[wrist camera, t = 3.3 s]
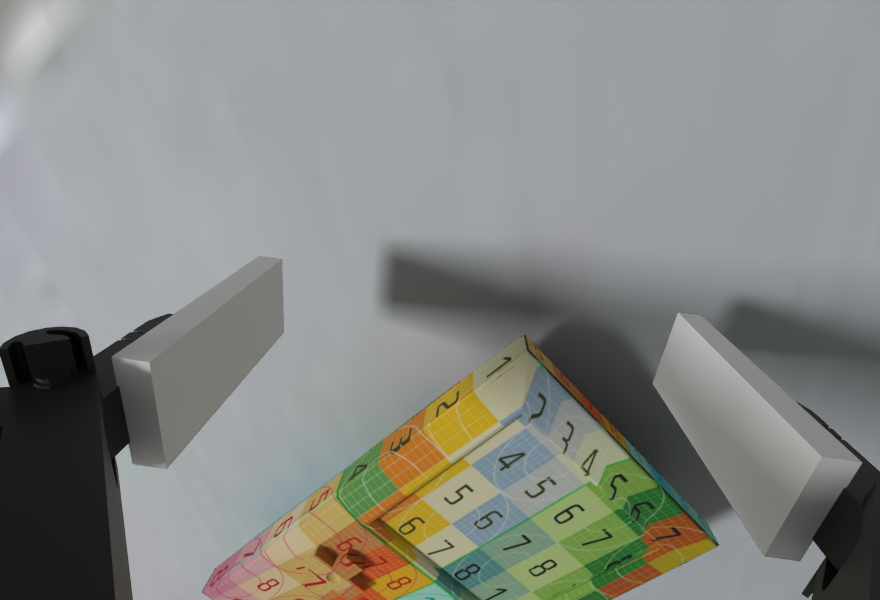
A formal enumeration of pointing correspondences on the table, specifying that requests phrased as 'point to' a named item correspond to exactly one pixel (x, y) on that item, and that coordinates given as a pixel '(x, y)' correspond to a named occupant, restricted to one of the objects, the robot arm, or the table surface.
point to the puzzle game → (480, 506)
